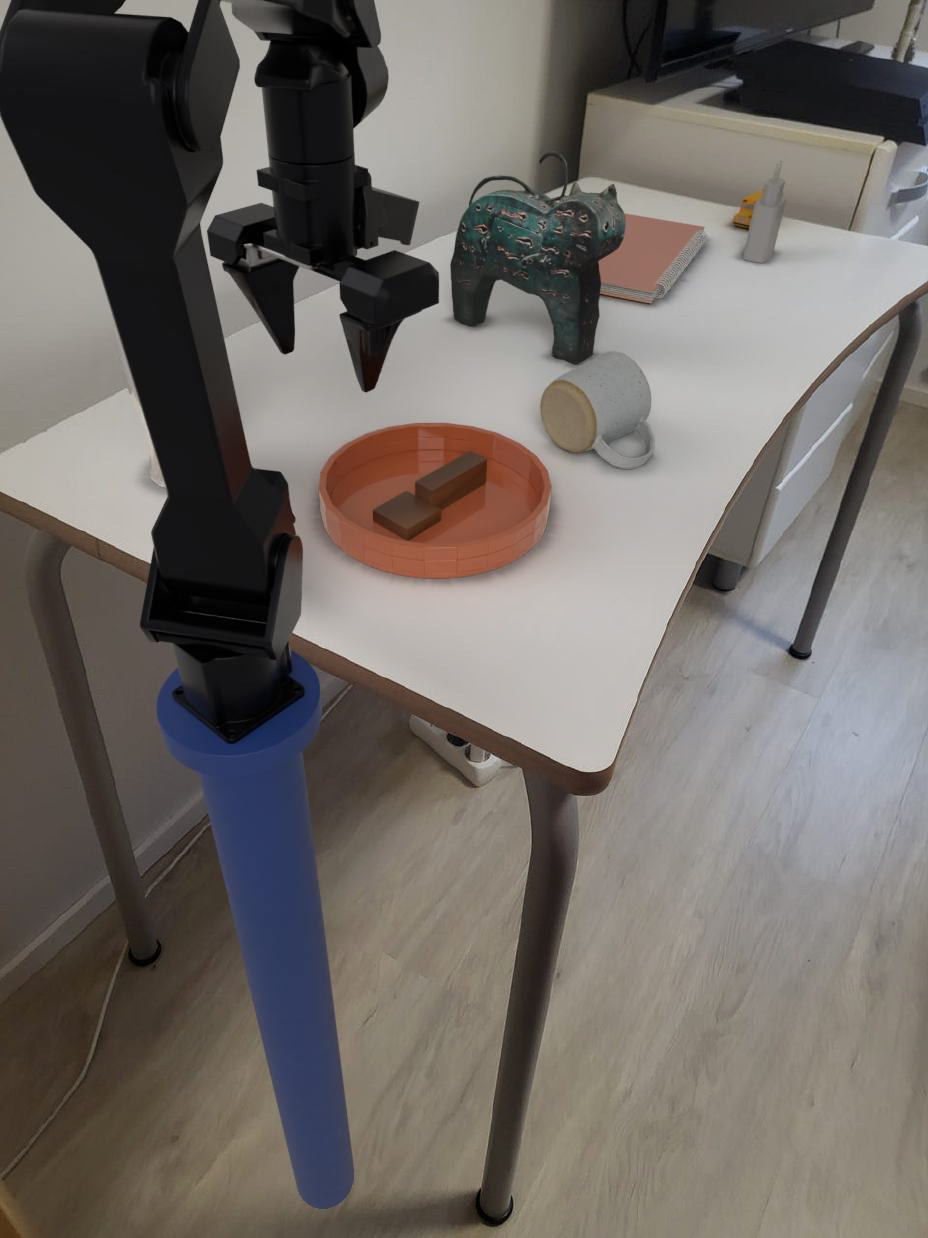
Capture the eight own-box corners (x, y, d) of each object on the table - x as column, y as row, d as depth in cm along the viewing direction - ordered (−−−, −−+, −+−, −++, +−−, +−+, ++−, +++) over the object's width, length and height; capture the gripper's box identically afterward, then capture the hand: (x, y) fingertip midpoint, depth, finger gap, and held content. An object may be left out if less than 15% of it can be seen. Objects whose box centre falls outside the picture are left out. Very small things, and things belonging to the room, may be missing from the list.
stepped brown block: (494, 487, 82) (496, 462, 80) (407, 541, 75) (407, 515, 74) (460, 470, 84) (461, 446, 82) (372, 521, 77) (371, 496, 76)
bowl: (442, 611, 70) (443, 580, 68) (274, 511, 79) (270, 480, 77) (592, 507, 81) (596, 477, 79) (429, 429, 90) (429, 401, 88)
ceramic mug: (530, 437, 89) (537, 363, 84) (587, 411, 94) (597, 338, 89) (615, 485, 84) (629, 408, 79) (671, 454, 88) (687, 380, 83)
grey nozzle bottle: (774, 251, 131) (797, 159, 123) (763, 263, 127) (785, 168, 120) (752, 247, 132) (773, 155, 124) (741, 258, 128) (762, 164, 121)
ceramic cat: (611, 357, 104) (638, 162, 91) (578, 376, 100) (602, 176, 87) (472, 307, 113) (478, 124, 100) (437, 323, 109) (439, 135, 96)
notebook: (659, 306, 115) (661, 290, 113) (531, 281, 120) (532, 266, 118) (709, 240, 134) (712, 225, 132) (597, 220, 139) (599, 206, 137)
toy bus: (729, 226, 139) (735, 199, 136) (759, 211, 145) (765, 185, 142) (749, 231, 137) (755, 204, 135) (778, 216, 143) (785, 189, 141)
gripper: (496, 159, 63) (485, 375, 73) (308, 108, 72) (322, 307, 82) (377, 194, 56) (384, 426, 66) (188, 133, 65) (219, 346, 75)
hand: (326, 370), depth 73 cm, fingers open, 9 cm apart
